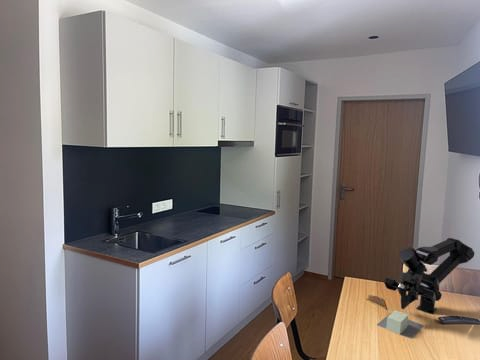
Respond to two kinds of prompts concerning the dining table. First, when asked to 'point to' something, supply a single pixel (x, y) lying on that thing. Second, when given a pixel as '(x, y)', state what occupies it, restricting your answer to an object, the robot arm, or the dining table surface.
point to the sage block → (397, 322)
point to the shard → (376, 301)
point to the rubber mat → (409, 331)
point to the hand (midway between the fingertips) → (402, 308)
